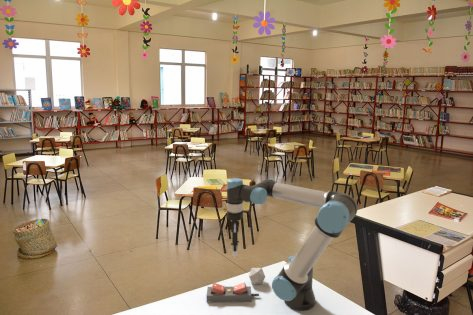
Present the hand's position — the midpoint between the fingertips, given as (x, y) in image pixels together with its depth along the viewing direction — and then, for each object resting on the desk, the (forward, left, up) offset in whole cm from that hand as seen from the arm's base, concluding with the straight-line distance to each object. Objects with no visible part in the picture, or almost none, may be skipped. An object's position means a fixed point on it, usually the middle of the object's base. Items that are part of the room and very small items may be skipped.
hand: (234, 256), depth 183 cm
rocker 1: (+7, +5, -19) cm, 21 cm away
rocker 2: (-3, -1, -19) cm, 19 cm away
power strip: (+1, +1, -22) cm, 22 cm away
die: (-4, -17, -22) cm, 28 cm away
